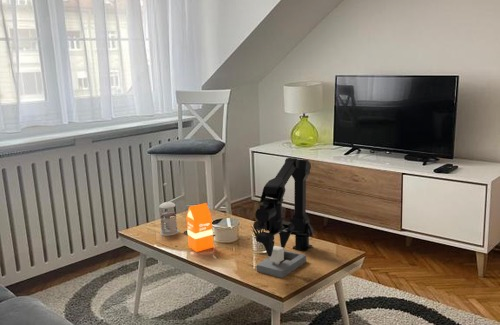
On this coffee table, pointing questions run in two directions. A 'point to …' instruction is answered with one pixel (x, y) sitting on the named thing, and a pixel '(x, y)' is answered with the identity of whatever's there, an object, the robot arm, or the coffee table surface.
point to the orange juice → (199, 227)
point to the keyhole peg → (277, 255)
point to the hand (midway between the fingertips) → (276, 252)
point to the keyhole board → (282, 264)
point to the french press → (168, 219)
